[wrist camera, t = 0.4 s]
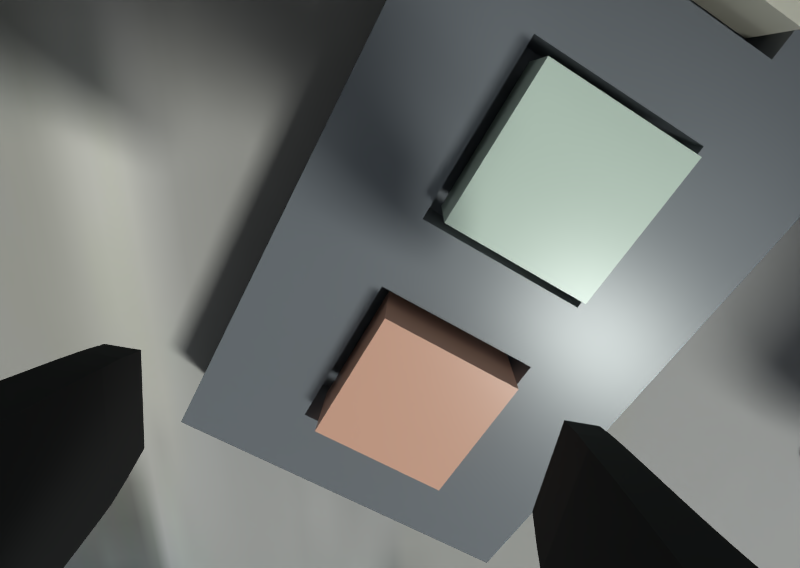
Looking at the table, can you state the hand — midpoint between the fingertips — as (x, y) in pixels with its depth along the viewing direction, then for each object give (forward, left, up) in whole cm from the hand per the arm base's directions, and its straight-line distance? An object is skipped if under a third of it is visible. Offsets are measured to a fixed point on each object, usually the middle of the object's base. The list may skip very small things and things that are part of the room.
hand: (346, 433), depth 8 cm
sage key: (-3, -5, -7) cm, 9 cm away
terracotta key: (-3, +2, -7) cm, 8 cm away
